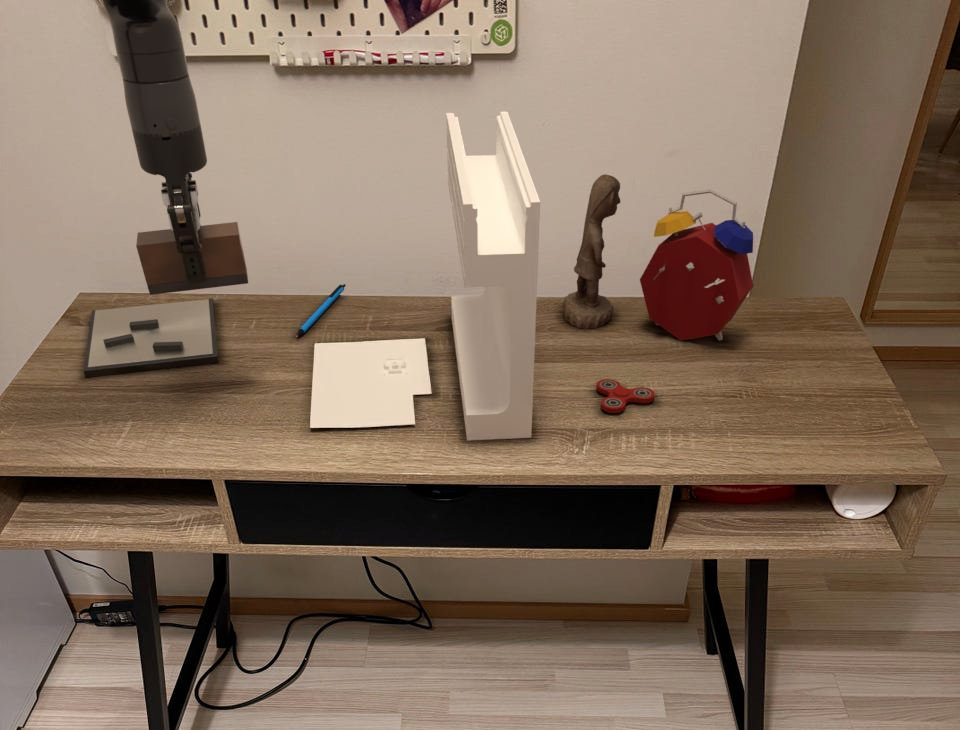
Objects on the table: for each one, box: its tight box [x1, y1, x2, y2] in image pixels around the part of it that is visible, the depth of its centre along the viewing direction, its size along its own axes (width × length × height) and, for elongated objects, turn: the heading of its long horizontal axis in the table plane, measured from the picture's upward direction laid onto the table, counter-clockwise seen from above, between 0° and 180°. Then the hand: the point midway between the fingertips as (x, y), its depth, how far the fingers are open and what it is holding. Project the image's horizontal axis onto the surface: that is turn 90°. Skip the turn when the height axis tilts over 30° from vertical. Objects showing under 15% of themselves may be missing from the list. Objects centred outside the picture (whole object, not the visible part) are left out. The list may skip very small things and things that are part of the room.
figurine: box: [562, 174, 621, 330], centre depth 135 cm, size 9×8×20 cm
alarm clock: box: [639, 189, 754, 341], centre depth 130 cm, size 15×9×20 cm, turn 59°
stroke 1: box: [103, 334, 134, 348], centre depth 133 cm, size 4×1×1 cm, turn 119°
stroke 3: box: [153, 341, 183, 351], centre depth 132 cm, size 4×1×1 cm, turn 94°
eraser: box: [135, 221, 249, 296], centre depth 115 cm, size 12×4×6 cm, turn 103°
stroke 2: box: [129, 319, 159, 330], centre depth 137 cm, size 4×1×1 cm, turn 104°
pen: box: [296, 283, 346, 338], centre depth 143 cm, size 1×19×1 cm, turn 165°
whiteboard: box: [83, 298, 220, 378], centre depth 136 cm, size 18×20×1 cm
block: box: [445, 111, 541, 441], centre depth 119 cm, size 35×8×28 cm, turn 4°
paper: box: [309, 337, 432, 429], centre depth 126 cm, size 25×17×1 cm
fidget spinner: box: [595, 378, 656, 414], centre depth 123 cm, size 8×7×1 cm
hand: (197, 273), depth 116 cm, fingers closed on eraser, 4 cm apart
